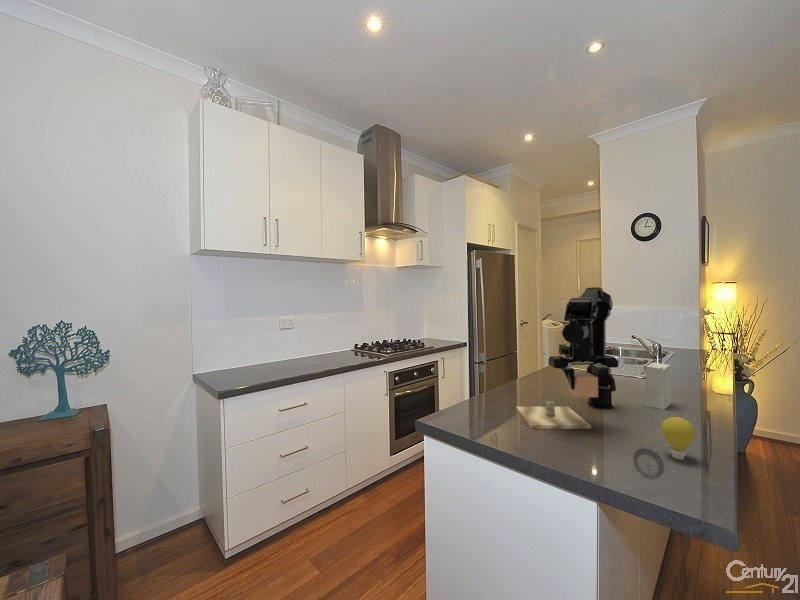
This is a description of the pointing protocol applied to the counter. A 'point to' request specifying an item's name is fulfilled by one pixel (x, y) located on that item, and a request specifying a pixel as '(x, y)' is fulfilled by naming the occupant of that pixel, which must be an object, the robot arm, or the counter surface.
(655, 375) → the skincare box
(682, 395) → the counter surface
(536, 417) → the post base
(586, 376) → the tan cardboard-like cube
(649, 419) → the counter surface
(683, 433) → the light bulb
